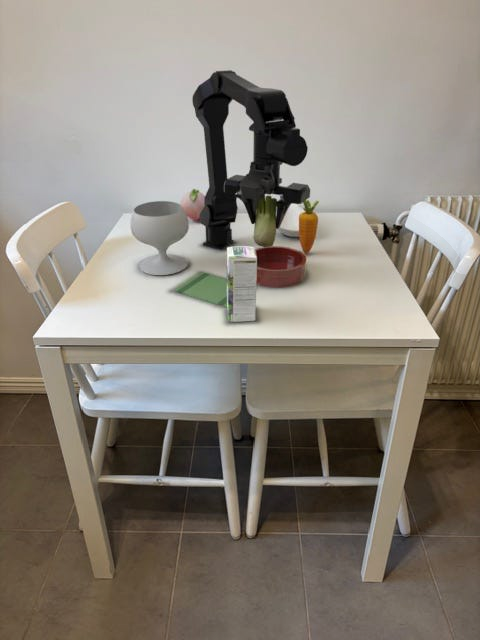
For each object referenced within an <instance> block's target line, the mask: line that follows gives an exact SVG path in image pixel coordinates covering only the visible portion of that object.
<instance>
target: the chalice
mask: <svg viewBox="0 0 480 640" xmlns="http://www.w3.org/2000/svg"><path fill="white" fill-rule="evenodd" d="M131 213H132V214H131V216H130V231H131V234H132V236H133V237H134V238H135V240H137V241H139V242H140V243H142V244H144V245H147V246H151V247H152V248H155V249H156V250H157V251H158V254H156V255H152V256H149V257H147V258H145V259H144V260H142V261H141V262H140V264H139V269H140V270H141V271H142V272H143V273H146V274H149V275H154V276H166V275H171V274H172V275H173V274H176V273H180V272H181V271H183V270H185V269H186V268H187V267H188V264H189V262H188V260H187V259H186V258H185V257H183V256H181V255H177V254H172V253H171V254H170V253H167V252H168V249H169V247H170V246H172V245H173V244H176V243H178V242H179V241H181V240H183V238H185V236H186V235H187V234H188V232H189V229H190V225H189V224H190V223H189V217H187V215H186V212H185V210H184V209H183V207H182V206H181V205H180V204H179V203H178V202H175V201H168V200H156V201H150V202H149V201H148V202H145V203H142V204H138V205H137V206H135V207H134V209H133V211H132V212H131Z"/></svg>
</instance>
